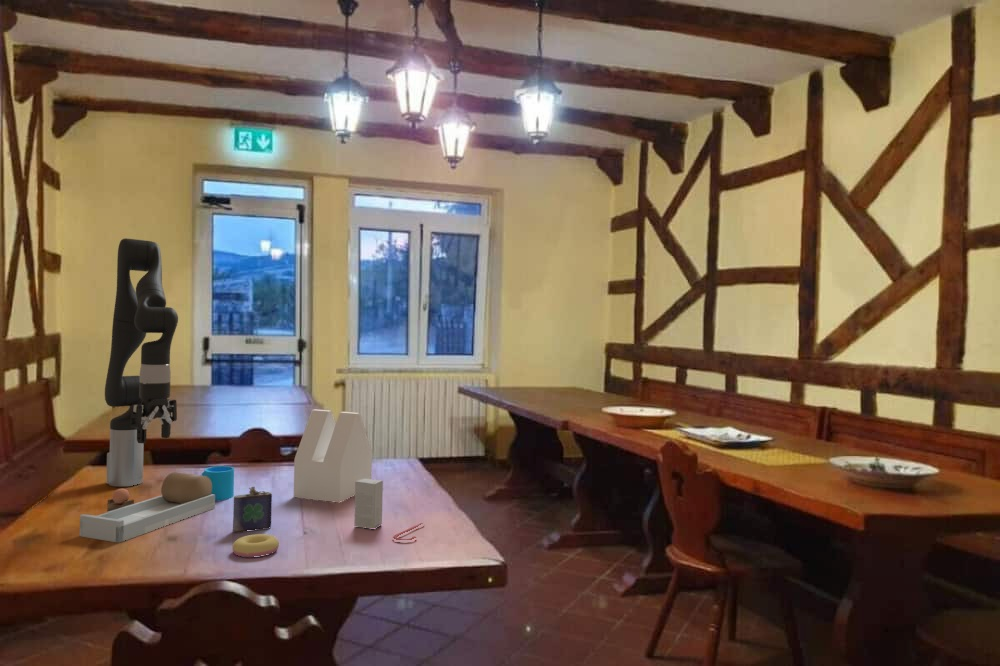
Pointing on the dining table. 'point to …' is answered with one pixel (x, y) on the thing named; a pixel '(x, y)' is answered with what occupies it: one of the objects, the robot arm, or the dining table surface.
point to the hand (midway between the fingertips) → (153, 440)
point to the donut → (255, 545)
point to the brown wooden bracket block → (113, 505)
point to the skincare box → (368, 503)
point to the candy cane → (404, 532)
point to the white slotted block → (331, 456)
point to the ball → (120, 496)
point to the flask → (252, 511)
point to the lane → (152, 510)
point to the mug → (221, 481)
